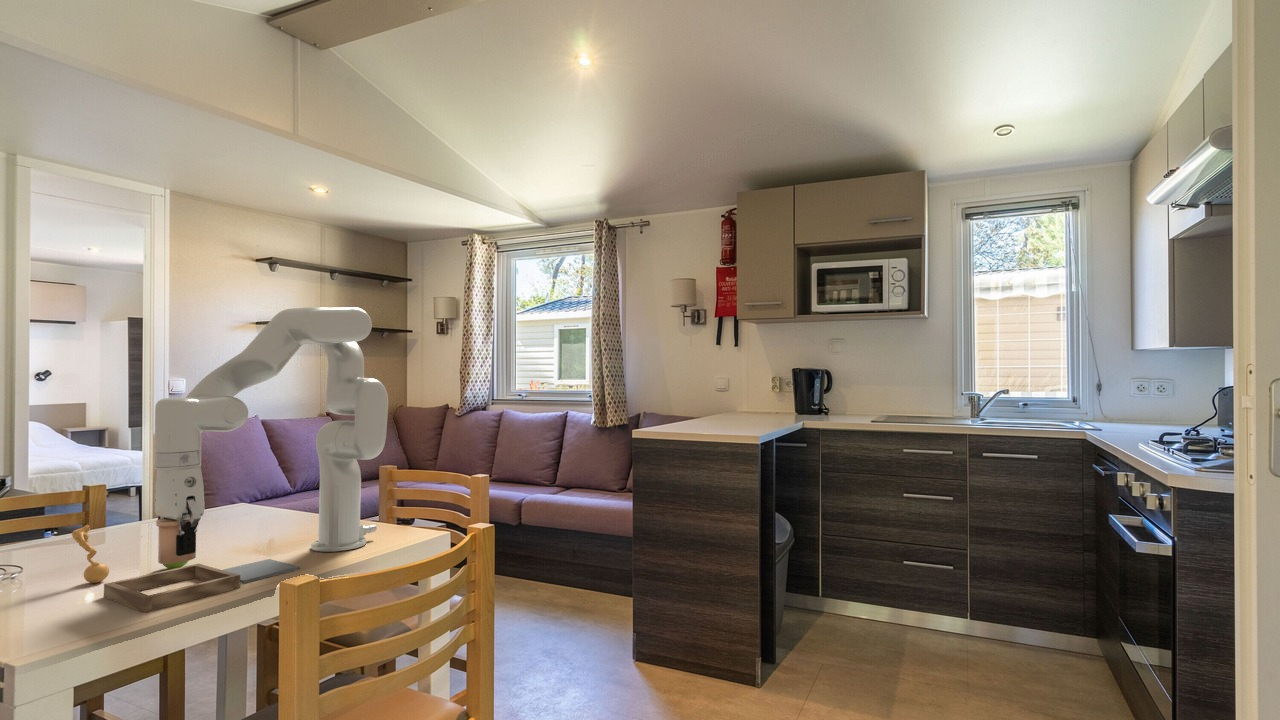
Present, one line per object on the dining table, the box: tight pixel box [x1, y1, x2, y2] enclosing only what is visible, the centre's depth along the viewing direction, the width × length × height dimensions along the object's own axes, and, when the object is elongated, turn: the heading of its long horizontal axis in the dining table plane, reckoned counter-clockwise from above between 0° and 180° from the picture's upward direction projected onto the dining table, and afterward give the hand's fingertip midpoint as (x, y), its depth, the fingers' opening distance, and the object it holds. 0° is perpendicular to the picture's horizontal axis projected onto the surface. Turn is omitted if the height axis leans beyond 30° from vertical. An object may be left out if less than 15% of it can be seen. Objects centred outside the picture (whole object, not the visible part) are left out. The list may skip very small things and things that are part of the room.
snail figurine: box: [162, 561, 189, 570], centre depth 141 cm, size 5×6×12 cm
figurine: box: [71, 524, 110, 584], centre depth 130 cm, size 8×6×12 cm
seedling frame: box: [103, 563, 241, 613], centre depth 125 cm, size 16×16×2 cm
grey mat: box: [222, 558, 301, 584], centre depth 139 cm, size 12×12×1 cm
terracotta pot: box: [155, 515, 197, 565], centre depth 126 cm, size 7×7×8 cm
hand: (177, 551), depth 126 cm, fingers closed on terracotta pot, 6 cm apart
